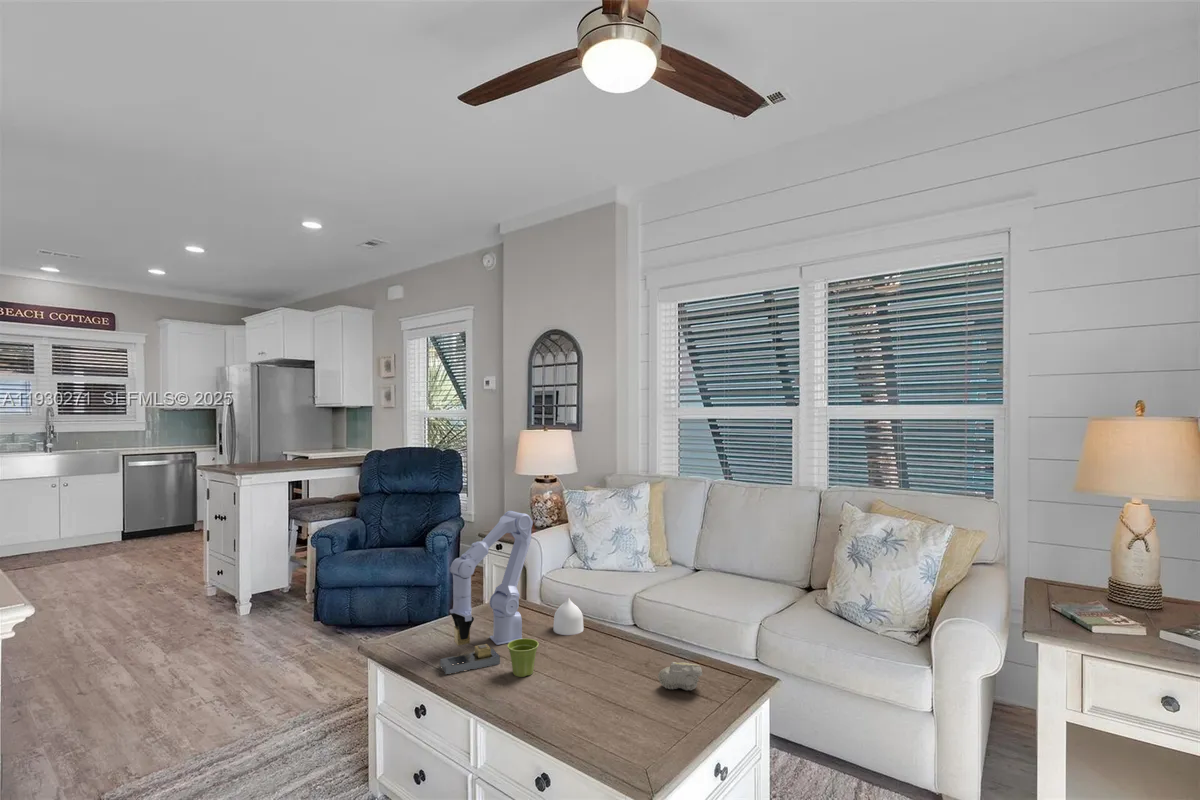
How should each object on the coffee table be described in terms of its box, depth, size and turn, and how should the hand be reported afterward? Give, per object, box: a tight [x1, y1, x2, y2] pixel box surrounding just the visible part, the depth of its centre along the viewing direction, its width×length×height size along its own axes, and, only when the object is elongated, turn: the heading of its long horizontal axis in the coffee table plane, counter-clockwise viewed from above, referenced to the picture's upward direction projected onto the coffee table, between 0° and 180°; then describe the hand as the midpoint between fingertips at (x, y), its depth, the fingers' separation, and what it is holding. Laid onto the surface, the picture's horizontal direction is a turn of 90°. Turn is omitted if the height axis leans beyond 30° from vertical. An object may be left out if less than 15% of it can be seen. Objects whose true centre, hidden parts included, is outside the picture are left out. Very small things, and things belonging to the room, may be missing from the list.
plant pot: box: [506, 638, 540, 678], centre depth 183 cm, size 9×9×9 cm
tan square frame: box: [474, 643, 492, 660], centre depth 190 cm, size 4×4×5 cm
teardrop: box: [552, 596, 585, 636], centre depth 219 cm, size 11×11×12 cm
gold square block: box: [453, 625, 471, 647], centre depth 198 cm, size 4×4×5 cm
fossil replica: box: [657, 661, 703, 692], centre depth 173 cm, size 12×8×10 cm
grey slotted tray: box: [439, 648, 501, 675], centre depth 188 cm, size 17×7×2 cm, turn 119°
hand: (462, 636), depth 198 cm, fingers closed on gold square block, 4 cm apart
